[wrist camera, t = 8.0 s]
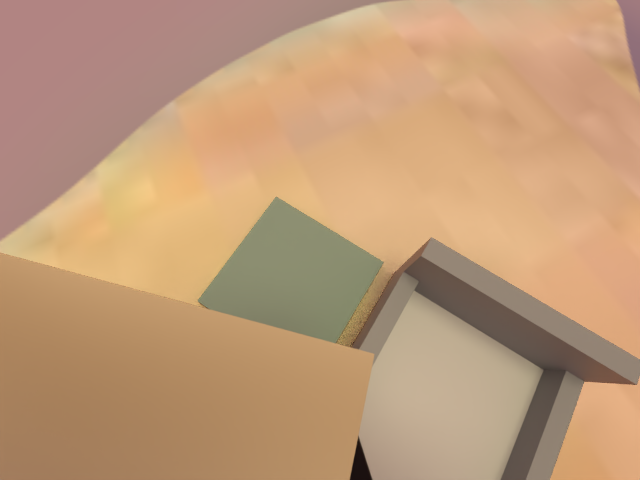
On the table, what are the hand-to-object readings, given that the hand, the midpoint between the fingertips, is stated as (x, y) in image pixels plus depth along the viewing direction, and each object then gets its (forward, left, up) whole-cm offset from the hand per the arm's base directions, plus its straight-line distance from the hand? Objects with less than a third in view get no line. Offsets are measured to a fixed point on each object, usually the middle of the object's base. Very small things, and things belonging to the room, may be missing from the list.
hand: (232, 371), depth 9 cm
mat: (+4, +1, -10) cm, 11 cm away
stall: (+3, -7, -10) cm, 12 cm away
